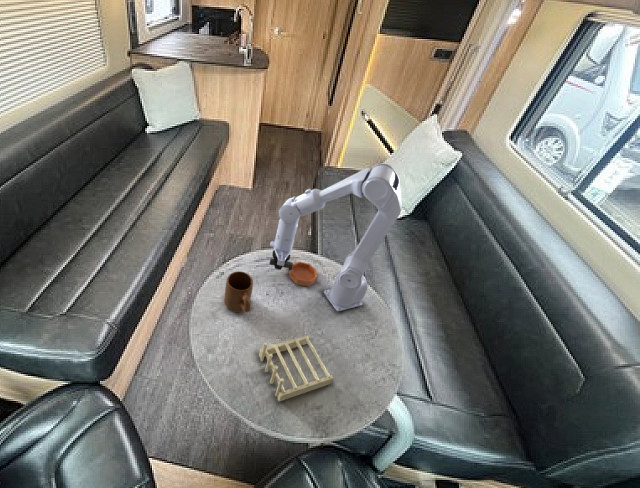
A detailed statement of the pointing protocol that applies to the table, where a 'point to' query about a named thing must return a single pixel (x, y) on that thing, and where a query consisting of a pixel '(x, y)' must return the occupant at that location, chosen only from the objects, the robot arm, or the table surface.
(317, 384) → the rack
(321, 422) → the table surface
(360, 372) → the table surface
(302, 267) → the pan
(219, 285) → the table surface
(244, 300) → the mug
